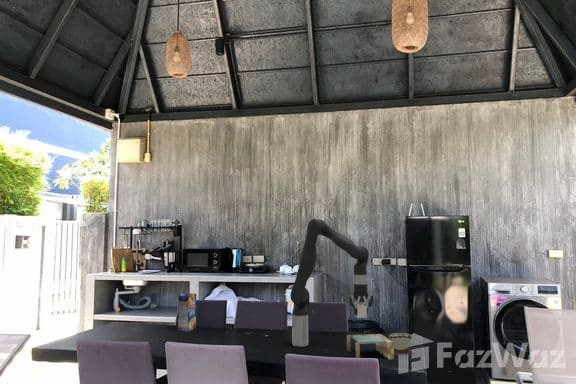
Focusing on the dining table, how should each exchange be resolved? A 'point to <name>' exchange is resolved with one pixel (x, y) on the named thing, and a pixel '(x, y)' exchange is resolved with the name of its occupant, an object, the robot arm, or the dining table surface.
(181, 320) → the juice carton
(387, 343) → the trapdoor frame
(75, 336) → the dining table surface
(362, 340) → the trapdoor
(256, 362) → the dining table surface
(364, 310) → the beige block
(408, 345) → the food container
